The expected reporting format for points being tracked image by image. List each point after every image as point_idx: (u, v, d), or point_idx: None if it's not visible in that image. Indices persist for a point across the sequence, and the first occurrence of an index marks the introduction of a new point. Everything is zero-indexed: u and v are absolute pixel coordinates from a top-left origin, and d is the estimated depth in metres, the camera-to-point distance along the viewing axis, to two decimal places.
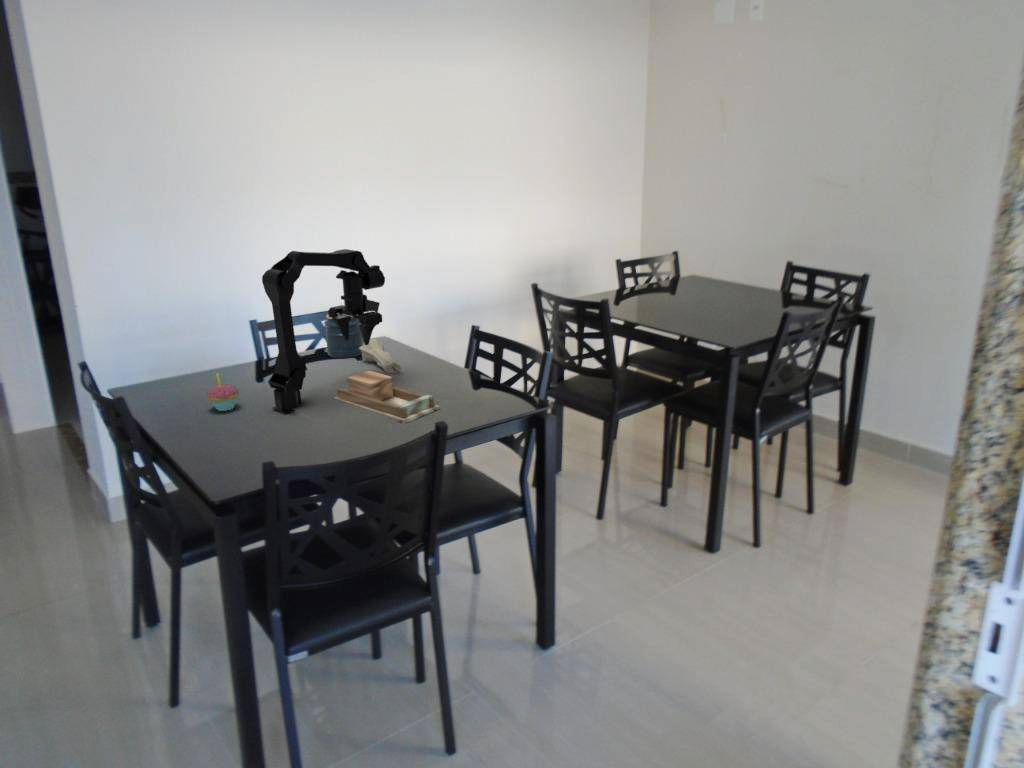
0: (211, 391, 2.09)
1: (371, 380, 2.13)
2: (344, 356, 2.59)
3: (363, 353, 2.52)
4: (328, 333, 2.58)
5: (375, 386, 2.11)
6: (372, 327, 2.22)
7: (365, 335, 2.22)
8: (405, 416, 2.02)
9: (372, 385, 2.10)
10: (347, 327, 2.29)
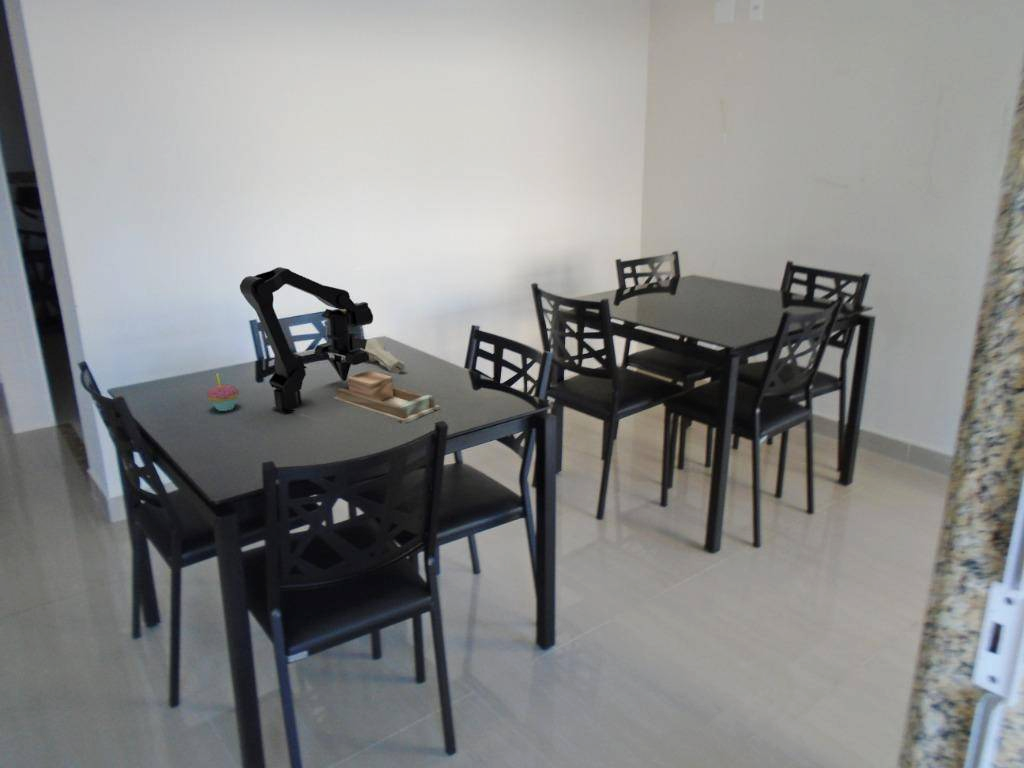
0: (211, 391, 2.09)
1: (371, 380, 2.13)
2: None
3: None
4: (328, 333, 2.58)
5: (375, 386, 2.11)
6: None
7: (342, 371, 2.21)
8: (405, 416, 2.02)
9: (372, 385, 2.10)
10: None
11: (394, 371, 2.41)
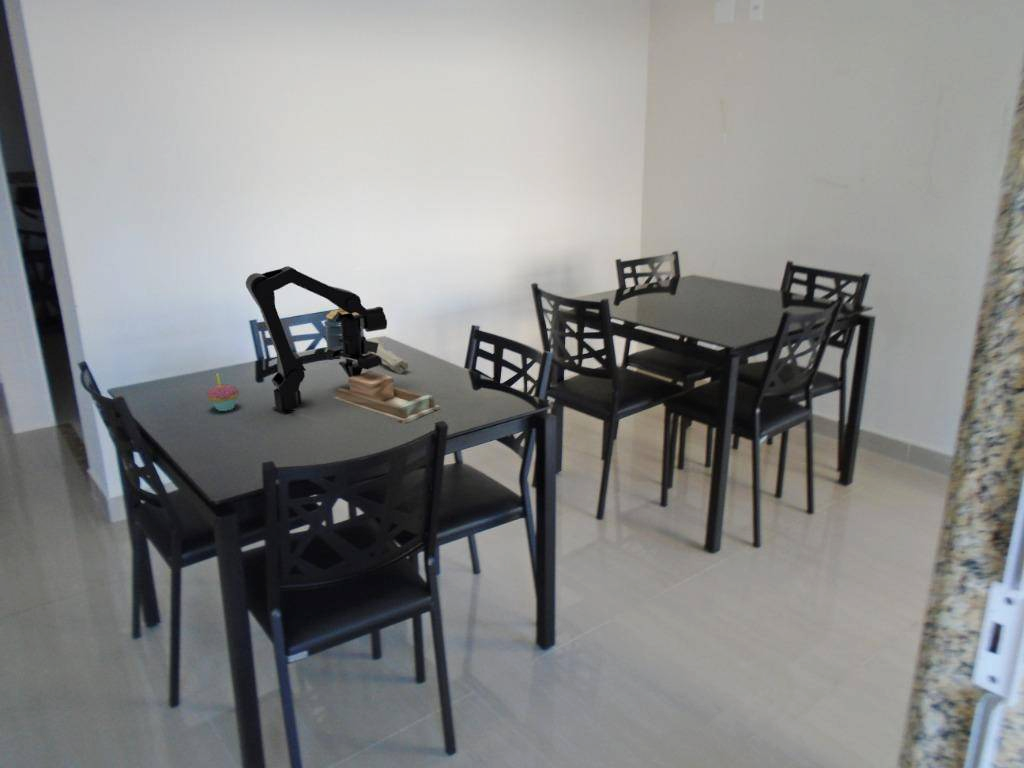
0: (211, 391, 2.09)
1: (372, 380, 2.13)
2: None
3: None
4: (328, 333, 2.58)
5: (375, 386, 2.11)
6: (361, 367, 2.19)
7: (354, 375, 2.18)
8: (405, 416, 2.02)
9: (373, 385, 2.10)
10: None
11: (398, 370, 2.42)
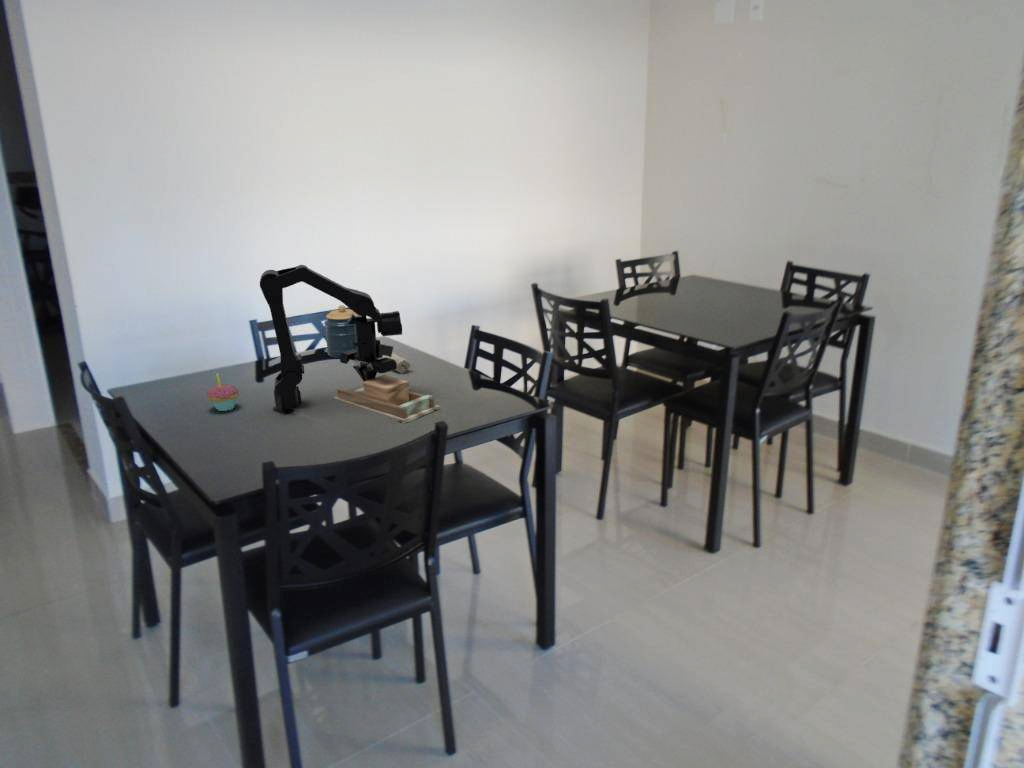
0: (211, 391, 2.09)
1: (387, 384, 2.09)
2: None
3: None
4: (328, 333, 2.58)
5: (391, 390, 2.07)
6: None
7: (369, 379, 2.14)
8: (405, 416, 2.02)
9: (388, 390, 2.06)
10: None
11: (400, 370, 2.42)
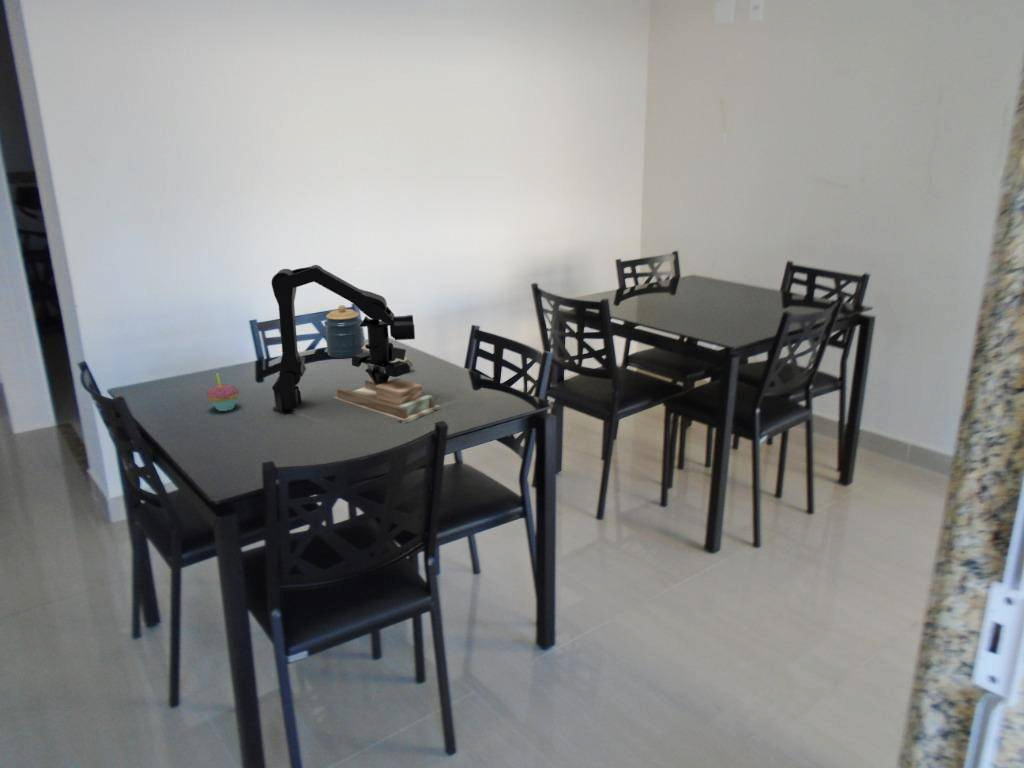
0: (211, 391, 2.09)
1: (400, 388, 2.06)
2: (344, 356, 2.59)
3: None
4: (328, 333, 2.58)
5: (404, 394, 2.04)
6: None
7: (381, 383, 2.11)
8: (405, 416, 2.02)
9: (401, 394, 2.03)
10: None
11: None
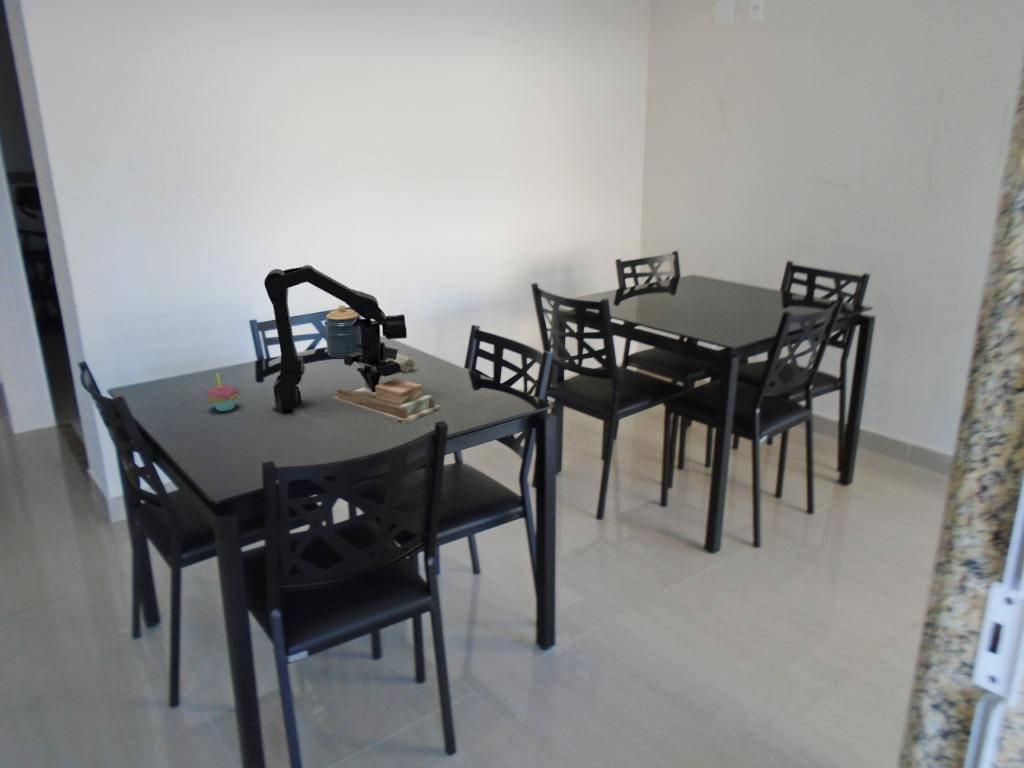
0: (211, 391, 2.09)
1: (400, 388, 2.06)
2: (344, 356, 2.59)
3: None
4: (328, 333, 2.58)
5: (404, 394, 2.04)
6: None
7: (372, 382, 2.13)
8: (405, 416, 2.02)
9: (401, 394, 2.03)
10: None
11: (405, 368, 2.43)
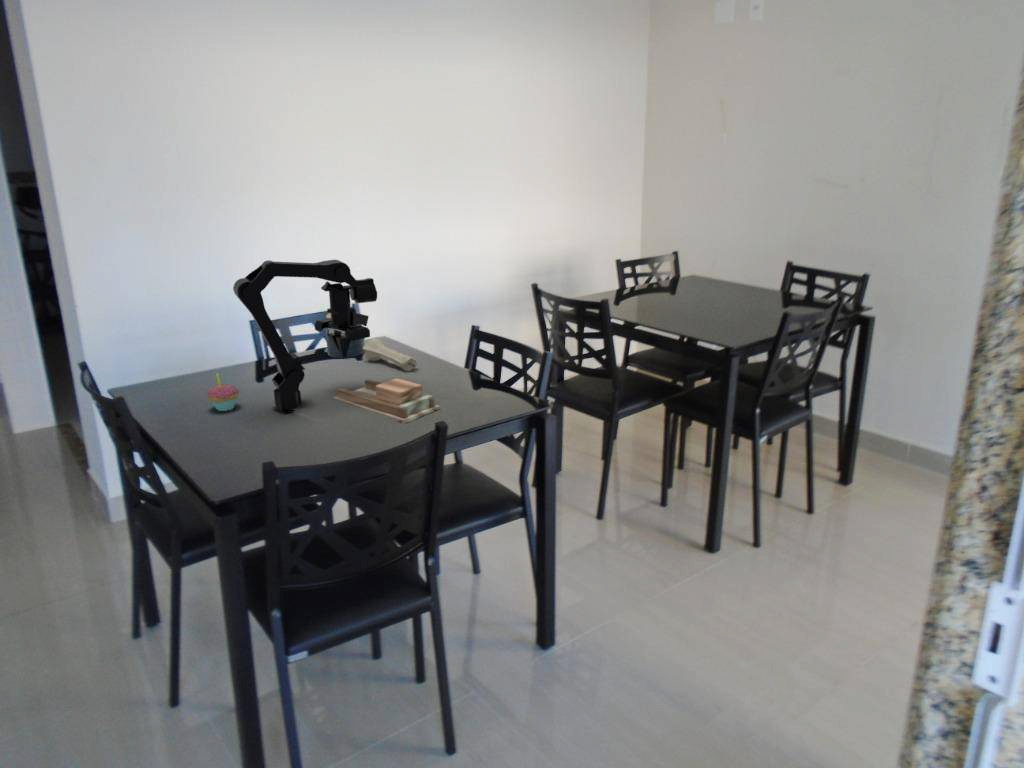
0: (211, 391, 2.09)
1: (400, 388, 2.06)
2: None
3: (367, 353, 2.52)
4: (328, 333, 2.58)
5: (404, 394, 2.04)
6: (350, 339, 2.14)
7: (342, 348, 2.13)
8: (405, 416, 2.02)
9: (401, 394, 2.03)
10: None
11: (407, 368, 2.44)
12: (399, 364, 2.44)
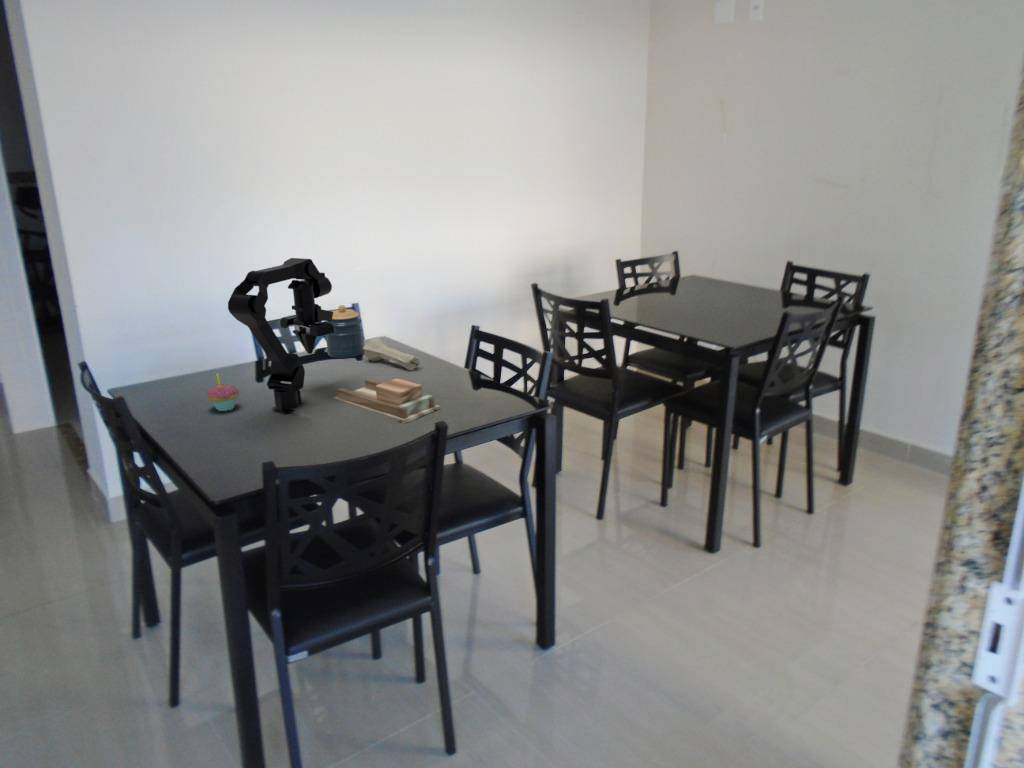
0: (211, 391, 2.09)
1: (400, 388, 2.06)
2: (344, 356, 2.59)
3: (368, 353, 2.52)
4: None
5: (404, 394, 2.04)
6: (315, 335, 2.17)
7: (308, 344, 2.17)
8: (405, 416, 2.02)
9: (401, 394, 2.03)
10: None
11: (410, 367, 2.45)
12: (402, 363, 2.44)
